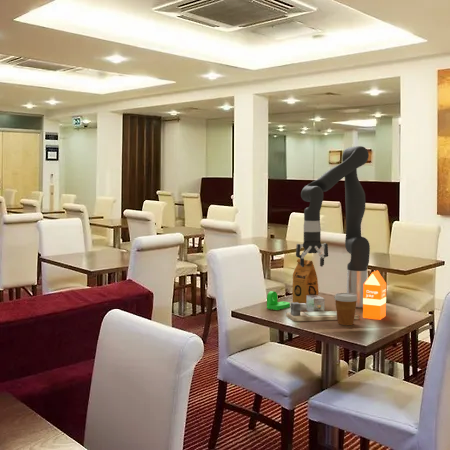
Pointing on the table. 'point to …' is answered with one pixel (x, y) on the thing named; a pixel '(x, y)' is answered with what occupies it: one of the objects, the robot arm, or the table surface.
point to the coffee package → (304, 281)
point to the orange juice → (374, 297)
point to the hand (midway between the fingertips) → (312, 266)
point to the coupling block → (315, 303)
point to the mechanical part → (275, 302)
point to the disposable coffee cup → (345, 308)
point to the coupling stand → (310, 313)
